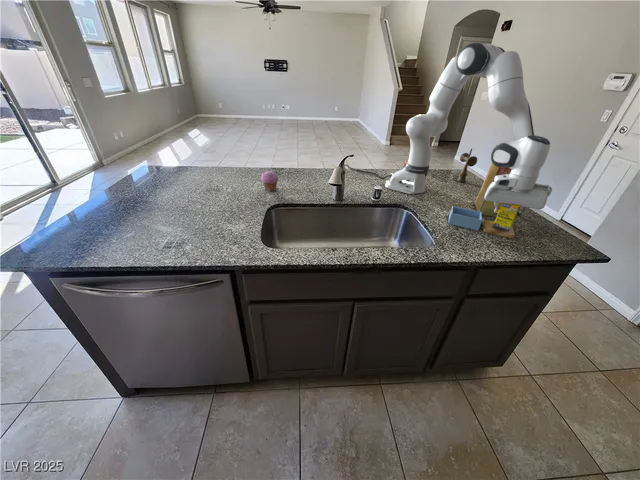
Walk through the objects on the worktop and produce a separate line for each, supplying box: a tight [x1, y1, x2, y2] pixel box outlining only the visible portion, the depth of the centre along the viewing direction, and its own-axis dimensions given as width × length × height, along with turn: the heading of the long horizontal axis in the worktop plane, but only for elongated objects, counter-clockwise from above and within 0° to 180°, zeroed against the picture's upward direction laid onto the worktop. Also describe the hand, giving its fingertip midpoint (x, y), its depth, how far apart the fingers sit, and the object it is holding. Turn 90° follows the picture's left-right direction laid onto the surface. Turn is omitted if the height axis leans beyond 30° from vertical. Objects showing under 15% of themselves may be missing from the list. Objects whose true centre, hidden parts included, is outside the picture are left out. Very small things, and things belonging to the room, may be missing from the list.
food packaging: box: [474, 162, 511, 218], centre depth 124 cm, size 13×9×25 cm
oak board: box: [482, 219, 516, 239], centre depth 114 cm, size 11×10×2 cm
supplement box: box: [493, 203, 521, 231], centre depth 109 cm, size 6×6×11 cm
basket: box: [447, 205, 483, 231], centre depth 118 cm, size 12×9×5 cm
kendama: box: [456, 148, 478, 183], centre depth 160 cm, size 6×10×20 cm, turn 3°
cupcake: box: [261, 171, 279, 192], centre depth 141 cm, size 9×9×10 cm
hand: (507, 214), depth 109 cm, fingers closed on supplement box, 7 cm apart
